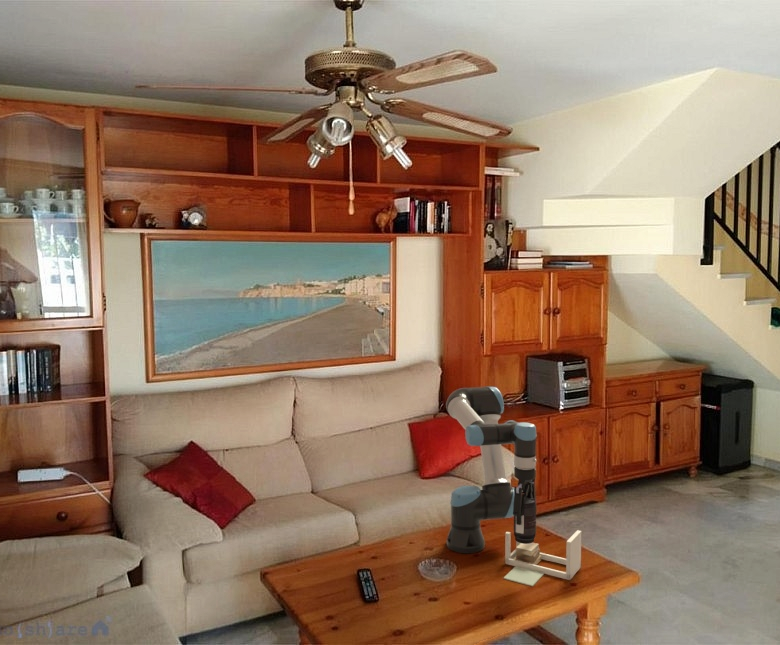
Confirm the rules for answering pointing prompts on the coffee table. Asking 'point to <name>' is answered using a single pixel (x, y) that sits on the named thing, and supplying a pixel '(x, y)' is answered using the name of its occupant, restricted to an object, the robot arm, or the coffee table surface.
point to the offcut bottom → (531, 562)
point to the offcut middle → (527, 557)
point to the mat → (524, 576)
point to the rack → (550, 557)
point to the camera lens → (527, 522)
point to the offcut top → (527, 548)
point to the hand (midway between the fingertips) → (524, 528)
